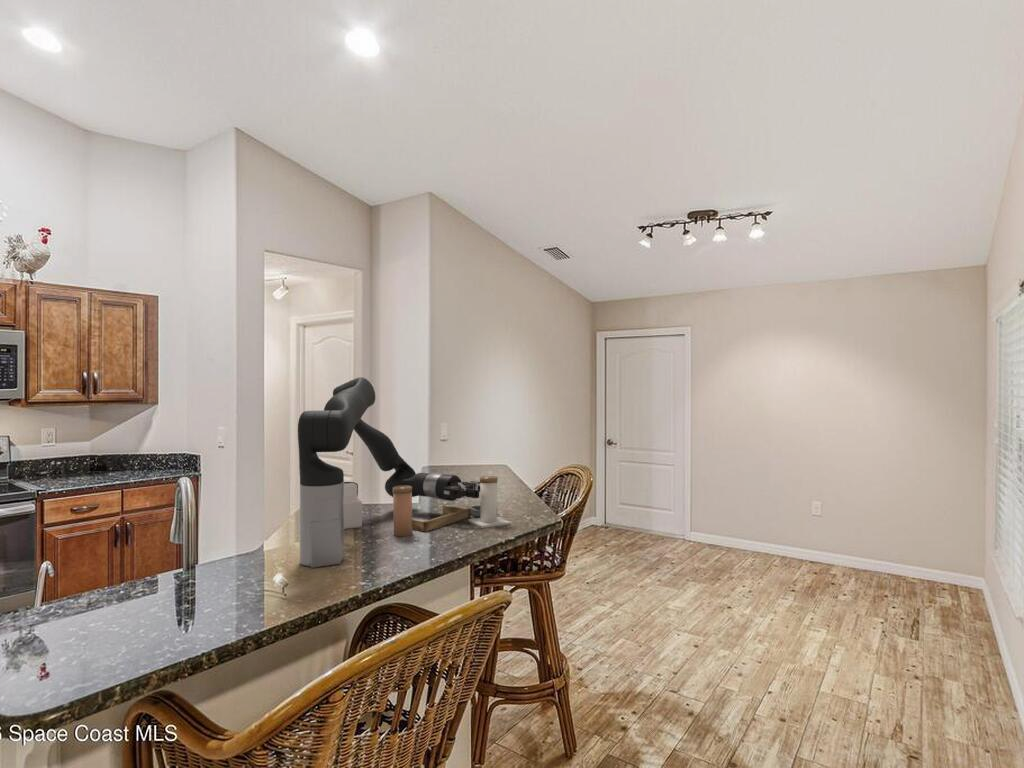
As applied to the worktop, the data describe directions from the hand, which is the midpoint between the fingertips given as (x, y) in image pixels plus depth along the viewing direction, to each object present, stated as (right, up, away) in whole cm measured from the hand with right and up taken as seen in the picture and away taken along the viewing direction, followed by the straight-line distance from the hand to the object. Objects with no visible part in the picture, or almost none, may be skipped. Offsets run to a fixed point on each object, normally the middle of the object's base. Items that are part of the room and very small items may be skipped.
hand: (487, 491), depth 163 cm
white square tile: (0, -9, 0) cm, 9 cm away
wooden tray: (-15, -9, +1) cm, 18 cm away
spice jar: (0, -8, 0) cm, 8 cm away
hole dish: (-2, -9, +11) cm, 14 cm away
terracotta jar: (-22, -9, -12) cm, 26 cm away
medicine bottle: (-39, -9, -3) cm, 40 cm away
